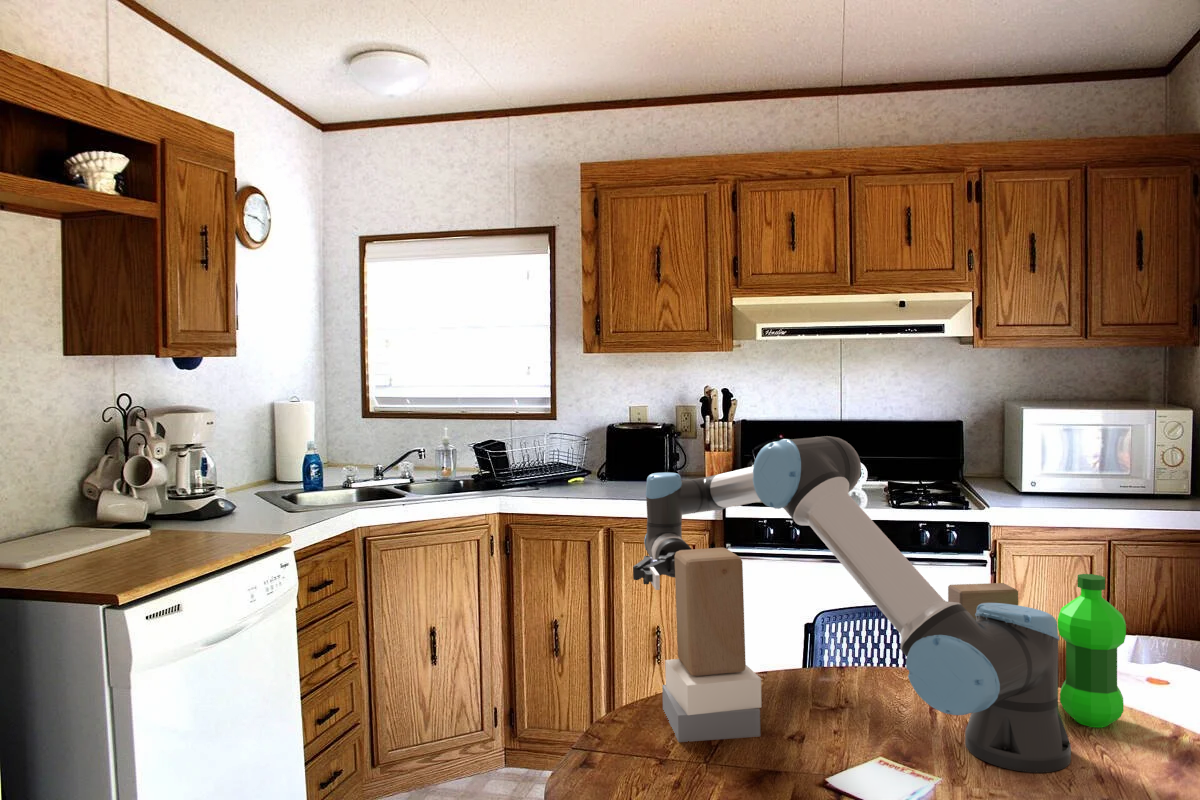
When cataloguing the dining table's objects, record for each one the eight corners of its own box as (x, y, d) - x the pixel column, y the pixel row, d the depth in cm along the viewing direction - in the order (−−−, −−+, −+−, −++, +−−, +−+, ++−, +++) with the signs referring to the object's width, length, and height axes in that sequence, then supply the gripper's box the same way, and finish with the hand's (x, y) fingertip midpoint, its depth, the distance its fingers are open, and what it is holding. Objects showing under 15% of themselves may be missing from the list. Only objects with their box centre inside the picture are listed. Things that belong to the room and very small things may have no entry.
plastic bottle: (1115, 739, 141) (1115, 587, 140) (1047, 720, 149) (1047, 576, 148) (1135, 721, 148) (1135, 576, 147) (1069, 704, 156) (1069, 567, 155)
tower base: (760, 739, 146) (760, 709, 145) (678, 745, 144) (678, 715, 144) (737, 707, 159) (737, 680, 159) (662, 712, 158) (662, 685, 158)
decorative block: (960, 699, 159) (960, 591, 159) (947, 687, 165) (946, 584, 164) (1020, 697, 160) (1019, 590, 159) (1005, 686, 165) (1004, 582, 165)
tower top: (761, 707, 146) (761, 678, 146) (687, 715, 144) (687, 685, 144) (733, 680, 159) (733, 653, 159) (665, 687, 156) (665, 660, 156)
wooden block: (747, 673, 148) (744, 556, 147) (690, 678, 146) (686, 560, 146) (730, 655, 158) (726, 546, 157) (676, 659, 156) (672, 549, 156)
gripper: (732, 570, 179) (762, 598, 158) (612, 576, 177) (626, 604, 156) (732, 534, 179) (761, 557, 158) (612, 539, 176) (626, 563, 155)
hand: (694, 580), depth 157 cm, fingers open, 13 cm apart
